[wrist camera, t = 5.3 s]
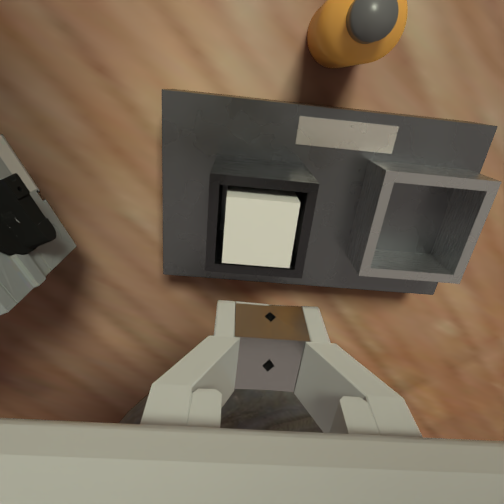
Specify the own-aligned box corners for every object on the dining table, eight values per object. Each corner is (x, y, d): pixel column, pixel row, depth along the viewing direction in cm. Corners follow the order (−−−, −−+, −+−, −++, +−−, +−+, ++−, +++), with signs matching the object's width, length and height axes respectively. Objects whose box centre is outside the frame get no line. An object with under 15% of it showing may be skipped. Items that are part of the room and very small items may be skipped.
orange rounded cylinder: (312, -4, 21) (343, -44, 14) (372, 3, 21) (428, -32, 14) (302, 65, 22) (326, 57, 16) (358, 71, 22) (403, 66, 16)
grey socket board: (171, 88, 22) (137, 90, 15) (468, 121, 24) (566, 137, 17) (171, 255, 28) (145, 316, 20) (415, 275, 29) (472, 338, 22)
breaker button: (230, 172, 21) (226, 196, 17) (288, 178, 22) (300, 203, 17) (225, 227, 23) (221, 262, 18) (280, 232, 23) (289, 268, 19)
